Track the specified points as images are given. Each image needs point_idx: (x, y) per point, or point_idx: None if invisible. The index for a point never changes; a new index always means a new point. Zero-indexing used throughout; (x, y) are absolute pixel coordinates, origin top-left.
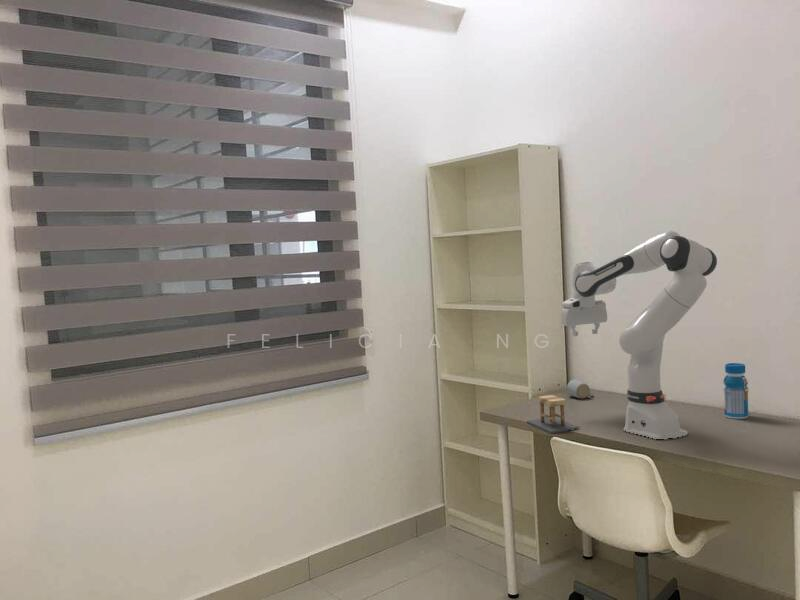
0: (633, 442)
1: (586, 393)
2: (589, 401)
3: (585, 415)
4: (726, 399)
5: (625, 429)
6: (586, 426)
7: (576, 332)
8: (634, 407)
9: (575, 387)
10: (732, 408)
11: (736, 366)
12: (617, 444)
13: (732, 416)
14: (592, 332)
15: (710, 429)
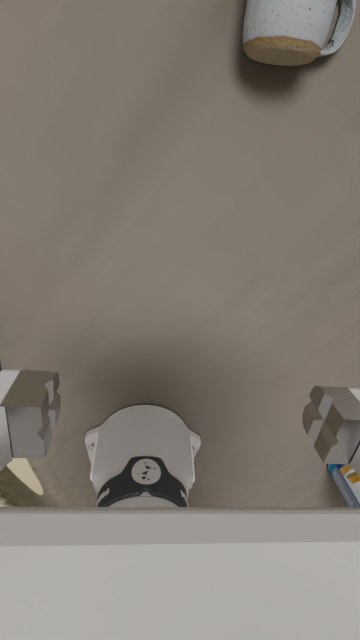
0: (53, 483)
1: (289, 62)
2: (249, 123)
3: (100, 279)
4: (350, 493)
5: (85, 442)
6: (33, 365)
7: (20, 450)
8: (97, 495)
9: (256, 18)
10: (338, 486)
11: None
12: (17, 480)
13: (329, 471)
14: (321, 397)
15: (232, 488)
